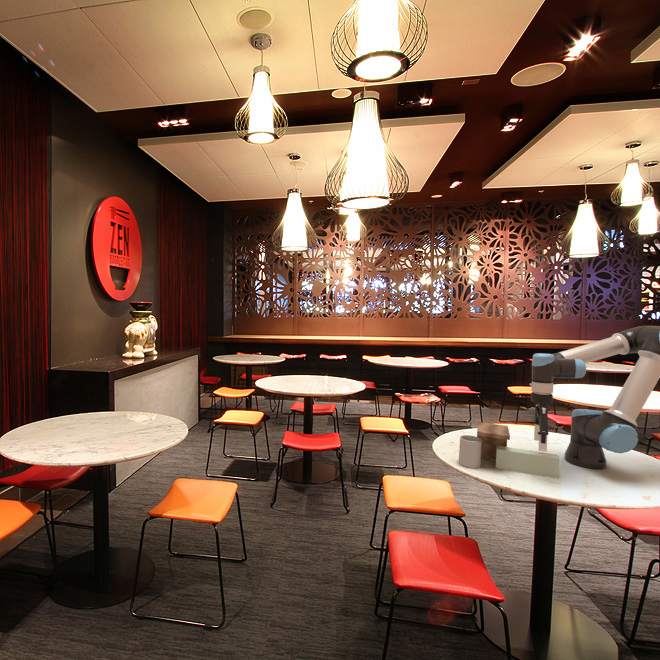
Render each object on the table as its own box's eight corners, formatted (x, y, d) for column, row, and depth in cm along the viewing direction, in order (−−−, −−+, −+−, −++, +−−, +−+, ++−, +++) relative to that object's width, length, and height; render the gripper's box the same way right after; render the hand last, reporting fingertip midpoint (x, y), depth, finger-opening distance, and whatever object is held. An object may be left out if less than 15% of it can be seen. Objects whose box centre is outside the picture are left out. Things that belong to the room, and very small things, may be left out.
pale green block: (555, 474, 152) (556, 454, 151) (557, 479, 147) (559, 458, 147) (495, 464, 160) (496, 445, 160) (495, 468, 155) (497, 449, 155)
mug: (479, 470, 153) (481, 443, 152) (457, 465, 156) (459, 439, 156) (481, 460, 164) (482, 434, 163) (460, 456, 167) (461, 431, 167)
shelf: (505, 460, 164) (507, 425, 164) (507, 473, 150) (509, 436, 149) (476, 455, 169) (477, 421, 168) (475, 468, 154) (477, 431, 154)
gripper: (527, 386, 164) (526, 435, 165) (535, 397, 141) (533, 454, 141) (547, 388, 161) (546, 437, 162) (558, 399, 138) (556, 457, 139)
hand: (540, 445), depth 152 cm, fingers open, 13 cm apart
